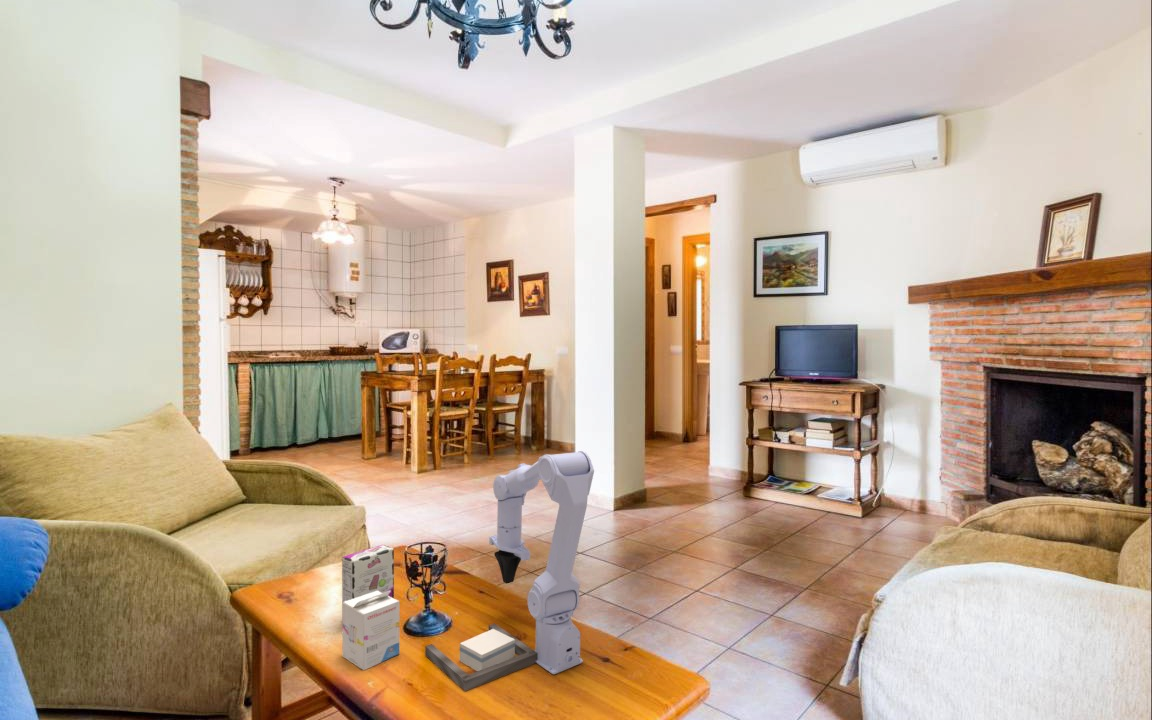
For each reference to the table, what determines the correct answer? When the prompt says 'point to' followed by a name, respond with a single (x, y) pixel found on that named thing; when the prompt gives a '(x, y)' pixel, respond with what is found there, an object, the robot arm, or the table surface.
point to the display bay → (487, 674)
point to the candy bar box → (368, 573)
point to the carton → (487, 650)
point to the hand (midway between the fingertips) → (508, 581)
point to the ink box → (370, 629)
